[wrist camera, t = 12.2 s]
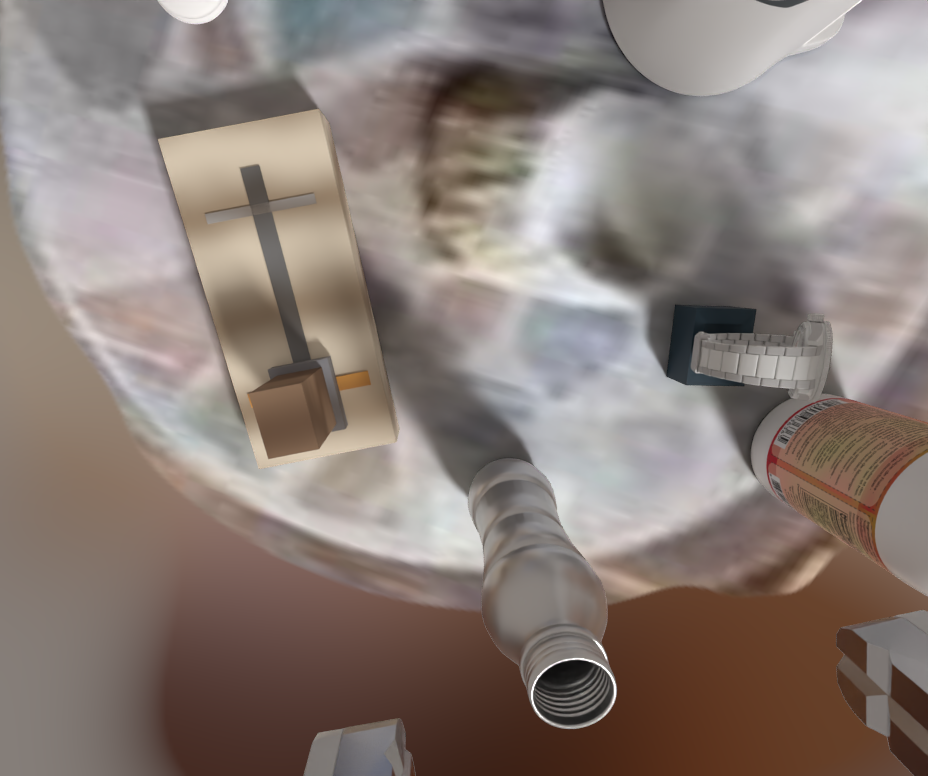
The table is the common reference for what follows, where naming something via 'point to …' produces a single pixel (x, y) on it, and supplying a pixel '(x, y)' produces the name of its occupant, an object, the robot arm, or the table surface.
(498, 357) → the table surface
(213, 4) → the chess piece
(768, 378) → the watch
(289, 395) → the slider
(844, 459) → the fruit juice
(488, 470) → the plastic bottle
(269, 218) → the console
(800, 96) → the table surface
